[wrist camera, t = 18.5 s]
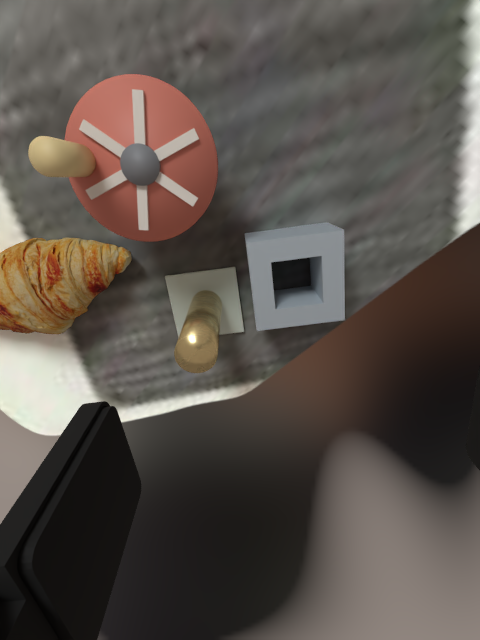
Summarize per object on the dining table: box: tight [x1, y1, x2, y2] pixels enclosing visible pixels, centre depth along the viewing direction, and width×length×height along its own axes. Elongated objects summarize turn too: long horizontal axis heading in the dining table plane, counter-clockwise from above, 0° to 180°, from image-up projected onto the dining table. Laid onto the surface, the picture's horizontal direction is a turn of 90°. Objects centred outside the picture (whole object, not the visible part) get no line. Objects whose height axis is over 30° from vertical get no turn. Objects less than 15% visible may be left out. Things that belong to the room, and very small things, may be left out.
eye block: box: [244, 222, 345, 331], centre depth 35 cm, size 9×9×6 cm
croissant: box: [0, 238, 131, 334], centre depth 36 cm, size 21×10×8 cm, turn 111°
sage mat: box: [165, 267, 244, 337], centre depth 39 cm, size 8×8×1 cm
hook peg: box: [174, 290, 222, 373], centre depth 34 cm, size 4×4×12 cm
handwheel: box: [29, 74, 218, 242], centre depth 25 cm, size 12×12×6 cm
